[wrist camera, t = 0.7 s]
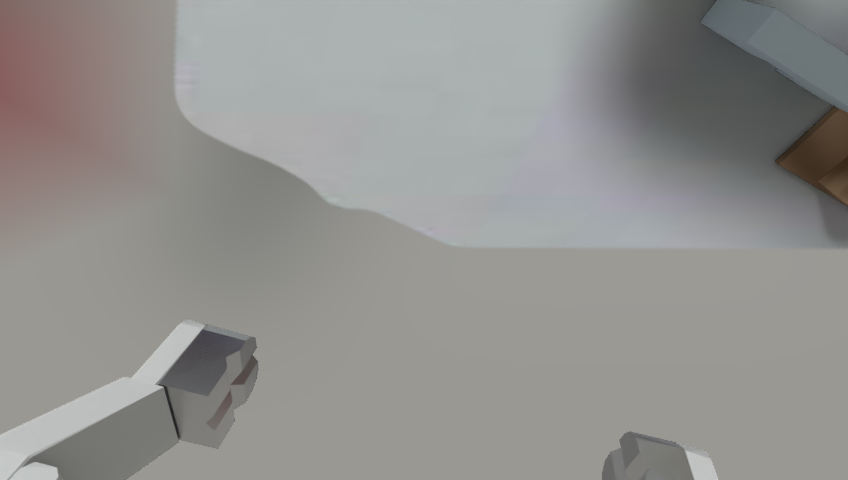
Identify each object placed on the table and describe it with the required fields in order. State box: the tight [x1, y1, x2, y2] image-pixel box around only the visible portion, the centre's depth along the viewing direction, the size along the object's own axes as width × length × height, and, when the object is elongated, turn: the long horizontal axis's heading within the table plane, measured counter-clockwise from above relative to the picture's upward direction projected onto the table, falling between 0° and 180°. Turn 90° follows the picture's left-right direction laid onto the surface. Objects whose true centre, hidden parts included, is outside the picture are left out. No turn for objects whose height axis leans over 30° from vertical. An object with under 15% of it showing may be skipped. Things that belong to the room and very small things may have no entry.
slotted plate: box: [700, 0, 848, 113], centre depth 36 cm, size 14×2×10 cm, turn 63°
